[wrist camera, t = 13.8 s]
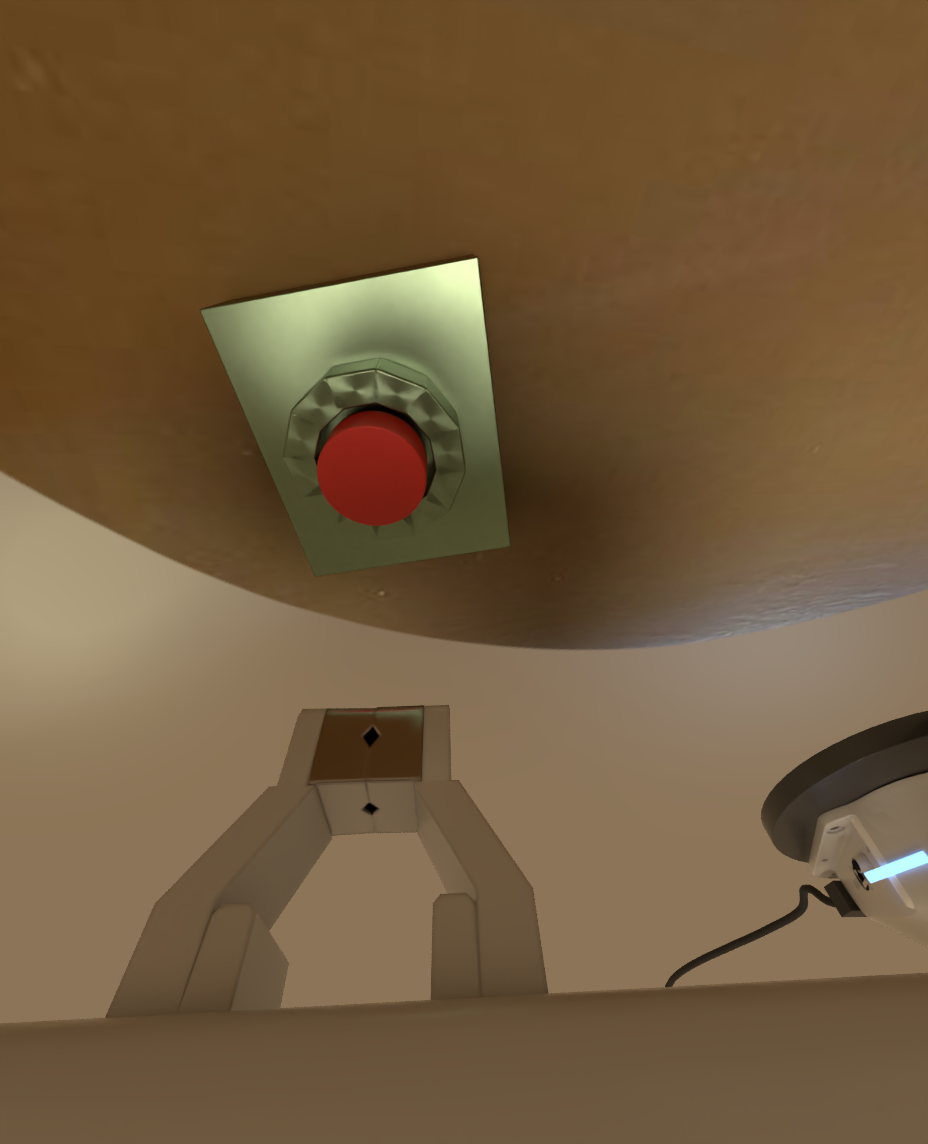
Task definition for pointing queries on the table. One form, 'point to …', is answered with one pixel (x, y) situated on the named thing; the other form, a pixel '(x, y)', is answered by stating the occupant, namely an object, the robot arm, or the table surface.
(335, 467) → the red push button
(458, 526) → the button box
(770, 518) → the table surface
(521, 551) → the table surface
